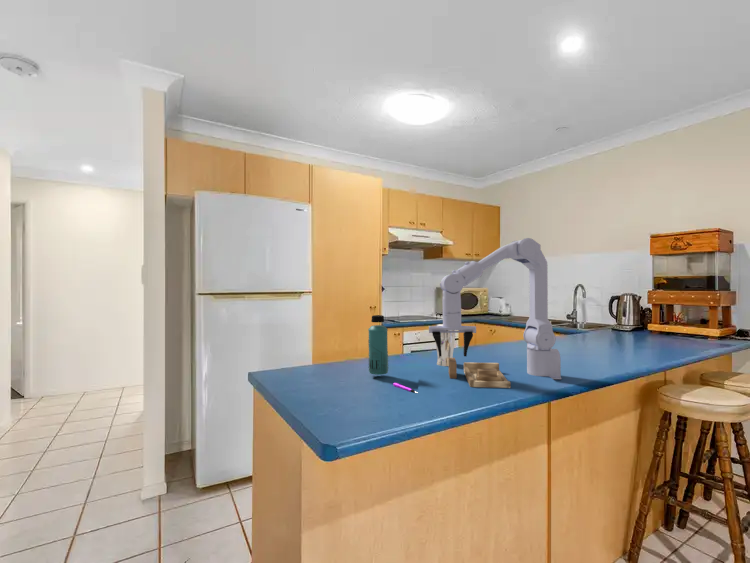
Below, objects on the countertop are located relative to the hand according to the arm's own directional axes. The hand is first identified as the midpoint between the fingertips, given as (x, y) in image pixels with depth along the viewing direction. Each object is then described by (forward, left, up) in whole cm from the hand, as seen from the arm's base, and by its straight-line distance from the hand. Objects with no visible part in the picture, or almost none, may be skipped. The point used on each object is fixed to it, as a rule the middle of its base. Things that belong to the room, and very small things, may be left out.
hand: (452, 355), depth 121 cm
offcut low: (-9, +9, -6) cm, 15 cm away
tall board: (0, 0, -7) cm, 7 cm away
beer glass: (+2, -16, -7) cm, 18 cm away
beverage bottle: (+24, 0, -7) cm, 25 cm away
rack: (-9, +4, -7) cm, 12 cm away
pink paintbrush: (+12, +15, -8) cm, 20 cm away
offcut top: (-9, +9, -4) cm, 14 cm away
